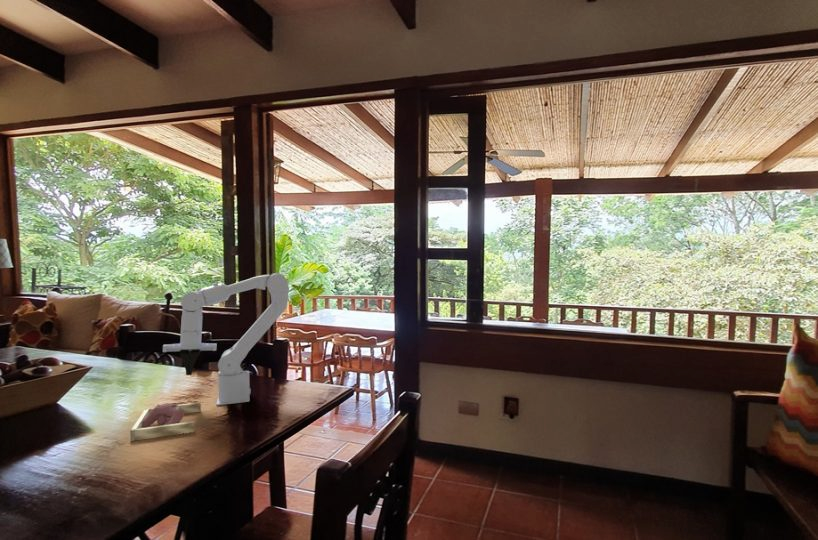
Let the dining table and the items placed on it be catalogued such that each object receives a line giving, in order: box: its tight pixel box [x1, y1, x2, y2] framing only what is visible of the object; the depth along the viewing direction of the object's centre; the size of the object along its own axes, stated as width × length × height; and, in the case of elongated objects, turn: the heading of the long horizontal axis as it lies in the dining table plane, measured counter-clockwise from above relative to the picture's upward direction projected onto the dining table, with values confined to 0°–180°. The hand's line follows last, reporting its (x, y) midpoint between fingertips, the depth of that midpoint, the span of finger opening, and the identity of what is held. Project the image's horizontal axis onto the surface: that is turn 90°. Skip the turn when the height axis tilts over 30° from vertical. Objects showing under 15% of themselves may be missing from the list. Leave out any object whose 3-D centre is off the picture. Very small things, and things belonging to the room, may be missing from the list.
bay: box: [129, 401, 202, 442], centre depth 110 cm, size 14×16×2 cm
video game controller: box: [143, 402, 186, 428], centre depth 109 cm, size 10×5×7 cm, turn 71°
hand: (189, 374), depth 125 cm, fingers closed
